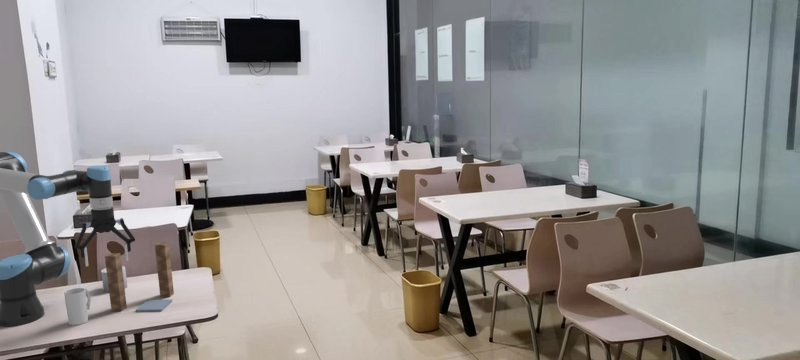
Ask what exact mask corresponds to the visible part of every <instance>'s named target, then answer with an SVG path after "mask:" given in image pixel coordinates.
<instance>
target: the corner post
mask: <svg viewBox="0 0 800 360" xmlns="http://www.w3.org/2000/svg"><path fill="white" fill-rule="evenodd" d="M104 260H105V262H104V263H105V268H106V271H107V279H108V287H109V292H108V293H109V295H108V296H109V300H110V309H111V312H122V311H124V310H125V309H126V308H127V306H128V305H127V297H126V290H125V289H126V288H124V279H123V271H122V266H123V264H122V255H121V253H120V252H116V253H115V252H114V253H111V252H110V253H108V254H106V255H105V256H104Z"/></svg>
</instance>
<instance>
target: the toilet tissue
mask: <svg viewBox="0 0 800 360" xmlns="http://www.w3.org/2000/svg"><path fill="white" fill-rule="evenodd" d="M100 271H101V278H102V279H101V280H102V288H103V292H105V293H109V287H108V279H107V271H106V267H104V268H103V269H101V270H100ZM122 271H123V279H124V288H125V289H128V280H127V271H126V267H125V265H122Z"/></svg>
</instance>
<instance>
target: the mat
mask: <svg viewBox="0 0 800 360" xmlns="http://www.w3.org/2000/svg"><path fill="white" fill-rule="evenodd" d="M172 302H173V299H146V300H145V302H143V303H142V304H141V305H139V306H138V307H137V308H136V309H135V312H136V313H139V312H140V313H142V312H143V313H144V312H146V313H147V312H163V311H164V310H165V309H166V308H167V307H168V306H169V305H170V304H171V303H172Z"/></svg>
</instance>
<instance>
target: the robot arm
mask: <svg viewBox="0 0 800 360" xmlns="http://www.w3.org/2000/svg"><path fill="white" fill-rule="evenodd" d="M76 192H87V193H88V196H89V197H88V198H89V207H90V209H91V210H90V214H91V215H90V216H91V222H86V221H83V222H82V228H81V231H80V233H79V235H78V237H77V239H76V241H75V243H74V249H76V250H77V249H79V250H80V257H81V258H83V259H84V263H85V268H86V267H89V259H88V251H87V250H88V249H87V245H89V243H90V242H91V241H92V239H93V238H94V237H95V236H96V235H97V233H99V234H103V233H110V232H113V234H115V236H117V237H119V238H120V240H123V242H124V251H125V260H126V262H129V252H131V251H132V248H131V243H134V242H135V241H136V238H135V236H134V235H133V233H132V232H131V231H130V229H129V228H128V226H127V224H126V223H125V220H124V218H123V217H120V218H119V219H117V218H115V211H114V207H113V206H114V202H113V201H114V200H113V192H112V177H111V173H110V168H109V167H108V166H106V165H94V166H89V167H87V168H86V170H76V169H71V170H65V171H63V172H62V173H58V174H53V175H44V174H43V175H42V174H39V173H32V172H28V165H27V162H26V161H25V159H24V157H22V156H21V155H20V154H19V153H16V152H13V151H1V152H0V198H1V200H2V202H3V203H4V204H3V205H4V206H5V208H6V211H7V213H8V215H9V216H10V218H11V221H12V223H13V225H14V227H15V229H16V231H17V234H18V235H19V237H20V239H21V241H22V244H23V246H24V248H25V250H24V251H23V253H21V254H16V255H12V256H8V257H6V258H3V259H1V260H0V326H2V327H14V326H20V325H26V324H28V323H31V322H35V321H37V320H39V319H40V318H42V317H43V316H44V315H46V314H45V307H44V306H43V304H42V303H41V301H40V298H39V297H38V295H37V291H36V290H37V288H36V286H38V285H41V284H44V283H47V282H49V281H52V280H56V279H58V278H60V277H62V276H63V275H65V274H67V272H68V271H69V270H70V266H71V257H70V254H69V252H68V250H67V249H66V248H64V247H63V246H58V244H57V243H56V241H54V240H52V239H50V238H49V236H48V234H47V232H46V230H45V228H44V225H43V223H42V221H41V219H40V216H39V214H38V213H37V210H36V208H35V206H34V204H33V202H32V200H31V198H32V199H33V200H36V201H37V200H38V201H39V200H49V199H51V198H55V197H59V196H63V195H67V194H71V193H76ZM30 197H31V198H30ZM116 224H118V225H120V226H121V228H122V230H124V232H125V233H126V235H127V236H126V235H124V233H122V232H121V231H120V230H119V229H117V228H116V227H115V226H116ZM89 227H91V228H93V229H92V230H91V232H90V233H89V235H88V236H87V237H86V238H85V240H83V238H84V235H85V233H86V231H87V229H89ZM82 240H83V242H82Z"/></svg>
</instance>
